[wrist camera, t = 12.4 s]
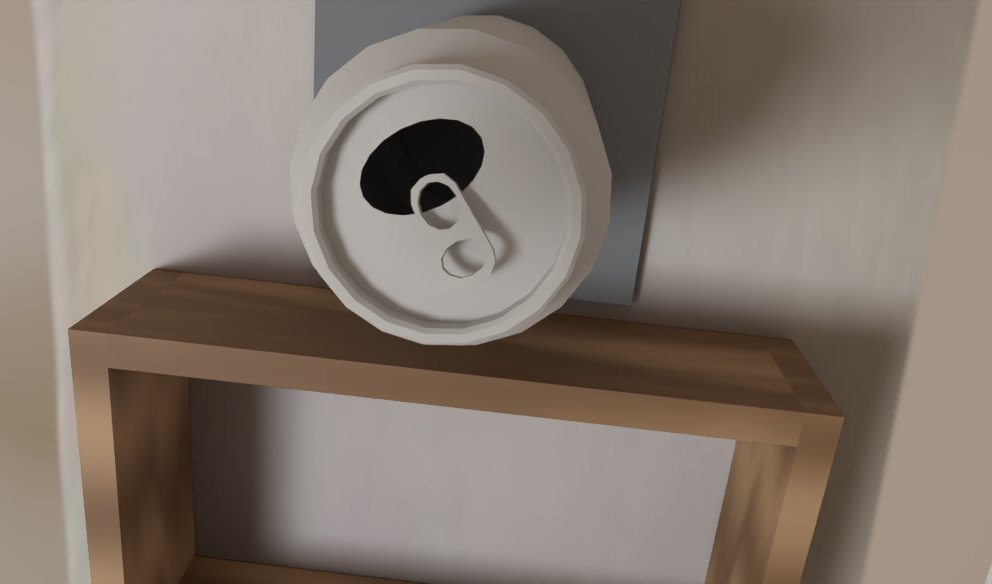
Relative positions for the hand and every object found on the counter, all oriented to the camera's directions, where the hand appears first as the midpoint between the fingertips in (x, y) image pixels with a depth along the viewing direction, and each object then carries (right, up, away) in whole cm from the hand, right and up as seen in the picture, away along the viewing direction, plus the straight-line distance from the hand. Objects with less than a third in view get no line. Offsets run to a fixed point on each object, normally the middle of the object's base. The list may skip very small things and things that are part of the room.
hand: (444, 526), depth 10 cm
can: (0, +9, +19) cm, 21 cm away
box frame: (-1, -4, +24) cm, 24 cm away
